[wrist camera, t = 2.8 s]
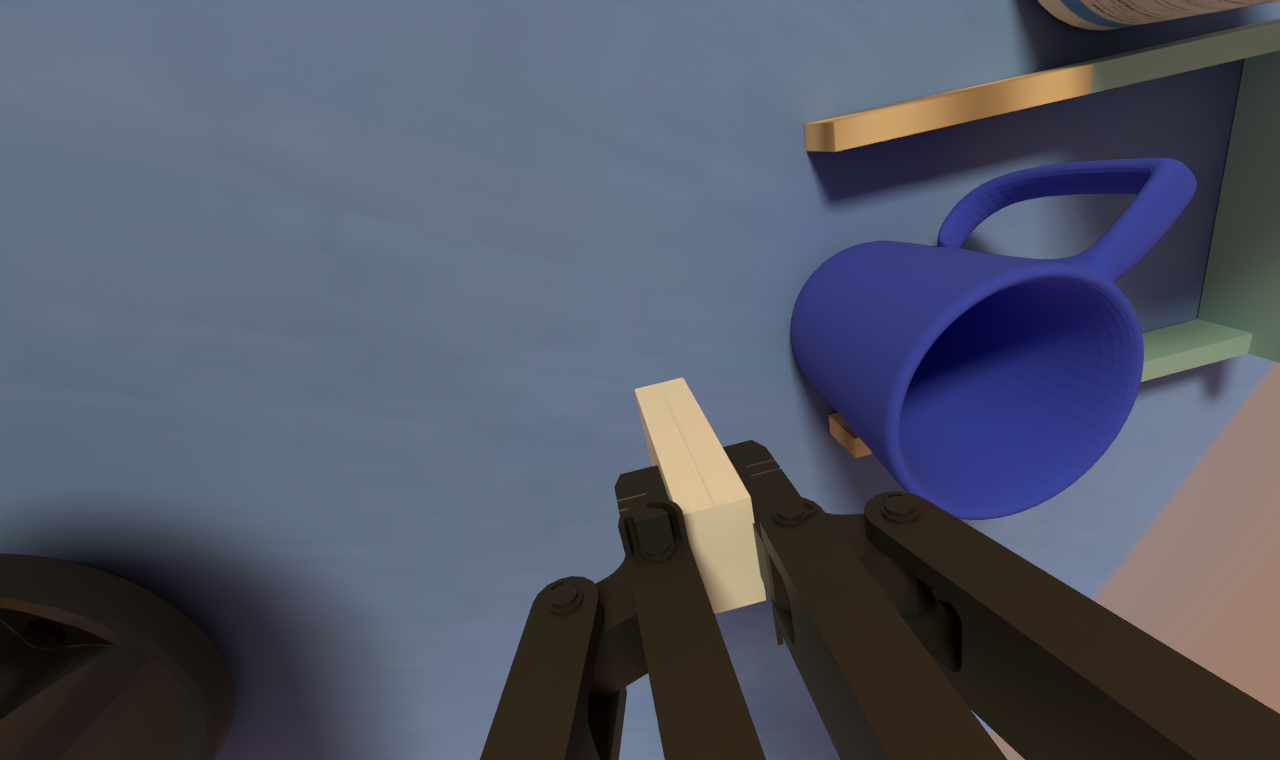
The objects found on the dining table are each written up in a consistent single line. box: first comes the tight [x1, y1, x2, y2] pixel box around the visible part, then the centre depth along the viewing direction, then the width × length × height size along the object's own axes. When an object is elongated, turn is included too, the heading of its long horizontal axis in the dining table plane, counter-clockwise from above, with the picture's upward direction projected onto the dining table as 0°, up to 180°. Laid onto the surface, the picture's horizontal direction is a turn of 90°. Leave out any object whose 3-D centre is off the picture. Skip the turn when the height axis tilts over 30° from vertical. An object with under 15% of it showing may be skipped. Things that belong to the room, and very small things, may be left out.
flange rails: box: [804, 64, 1093, 458], centre depth 25 cm, size 10×14×2 cm
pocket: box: [1043, 18, 1280, 382], centre depth 25 cm, size 10×14×4 cm
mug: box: [791, 158, 1197, 520], centre depth 22 cm, size 8×12×10 cm
